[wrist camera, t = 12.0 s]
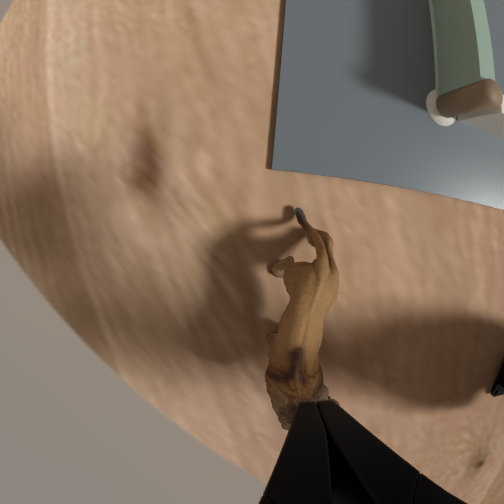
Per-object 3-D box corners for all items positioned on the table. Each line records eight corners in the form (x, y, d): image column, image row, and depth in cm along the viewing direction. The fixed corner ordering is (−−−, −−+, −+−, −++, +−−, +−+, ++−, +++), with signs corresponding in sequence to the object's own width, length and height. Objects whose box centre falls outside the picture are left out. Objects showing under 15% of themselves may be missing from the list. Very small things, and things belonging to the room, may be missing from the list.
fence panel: (454, 120, 17) (503, 110, 12) (435, 114, 17) (483, 101, 12) (443, -17, 14) (476, -46, 9) (426, -25, 14) (456, -56, 9)
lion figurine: (324, 374, 22) (347, 445, 15) (264, 378, 22) (268, 452, 15) (329, 205, 19) (371, 223, 12) (258, 208, 19) (260, 226, 12)
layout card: (518, 12, 14) (520, 11, 14) (530, 217, 19) (532, 217, 18) (290, -72, 14) (291, -75, 14) (271, 169, 19) (271, 169, 18)
